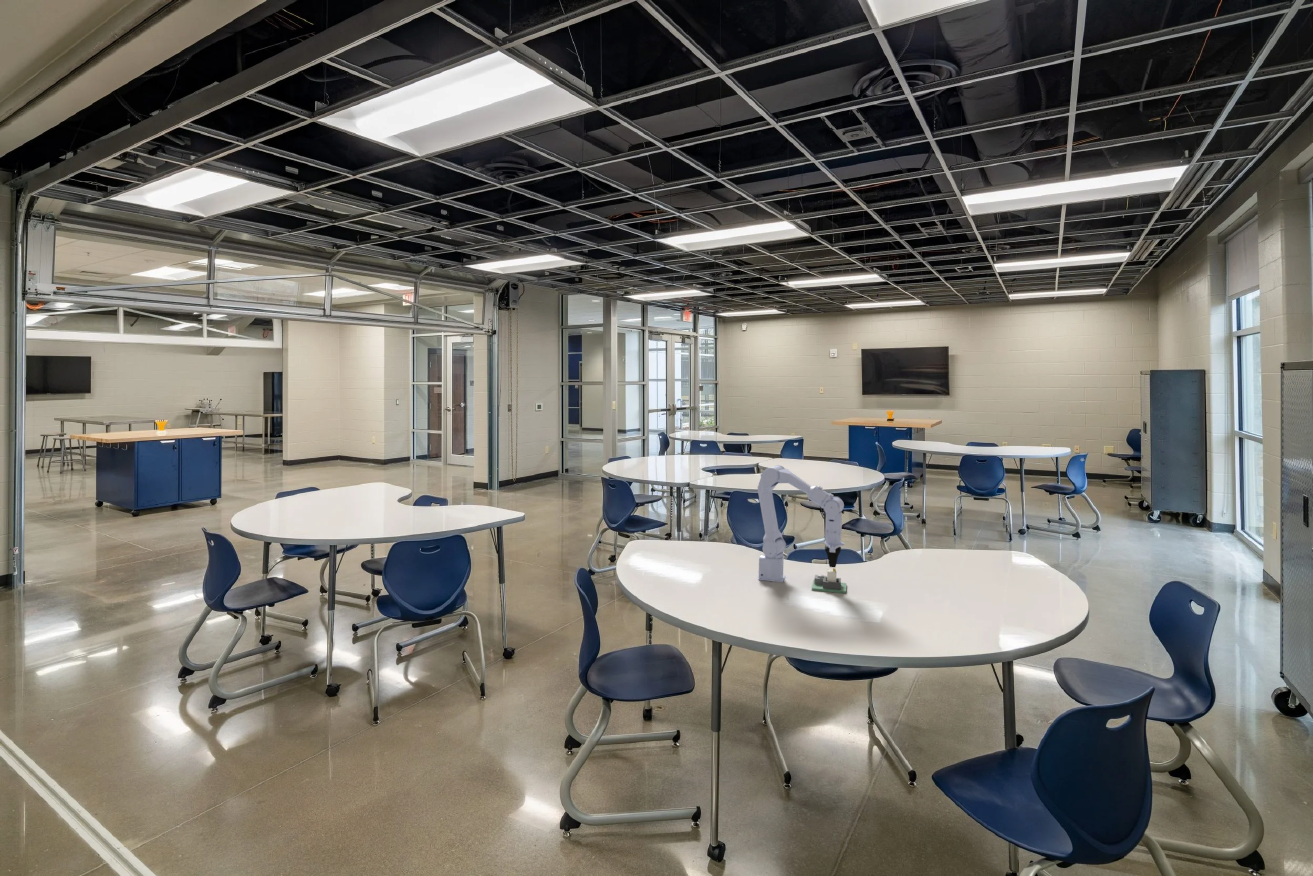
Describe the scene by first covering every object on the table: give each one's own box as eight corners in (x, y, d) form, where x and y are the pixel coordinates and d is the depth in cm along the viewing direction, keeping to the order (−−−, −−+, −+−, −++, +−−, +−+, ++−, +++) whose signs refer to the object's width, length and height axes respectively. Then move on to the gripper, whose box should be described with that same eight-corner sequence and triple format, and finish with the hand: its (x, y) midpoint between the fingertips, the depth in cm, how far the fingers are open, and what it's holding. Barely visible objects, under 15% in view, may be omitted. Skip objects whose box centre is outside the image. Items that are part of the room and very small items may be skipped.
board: (811, 590, 226) (812, 580, 226) (813, 581, 236) (813, 572, 235) (845, 593, 223) (846, 583, 222) (846, 585, 232) (846, 575, 232)
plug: (827, 587, 227) (827, 569, 226) (827, 584, 230) (827, 567, 229) (836, 588, 226) (836, 570, 225) (836, 585, 229) (836, 567, 228)
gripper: (844, 536, 218) (843, 573, 219) (845, 527, 232) (844, 562, 233) (823, 534, 220) (823, 571, 221) (825, 525, 234) (824, 560, 235)
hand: (832, 566), depth 227 cm, fingers closed
